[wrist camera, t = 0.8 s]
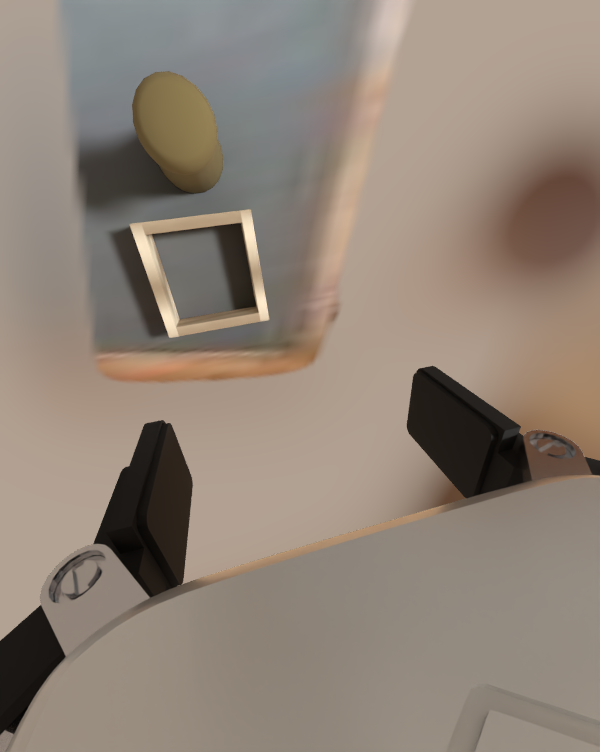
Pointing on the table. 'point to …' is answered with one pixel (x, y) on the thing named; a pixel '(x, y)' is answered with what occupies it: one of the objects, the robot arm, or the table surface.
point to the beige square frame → (160, 284)
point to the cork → (178, 131)
